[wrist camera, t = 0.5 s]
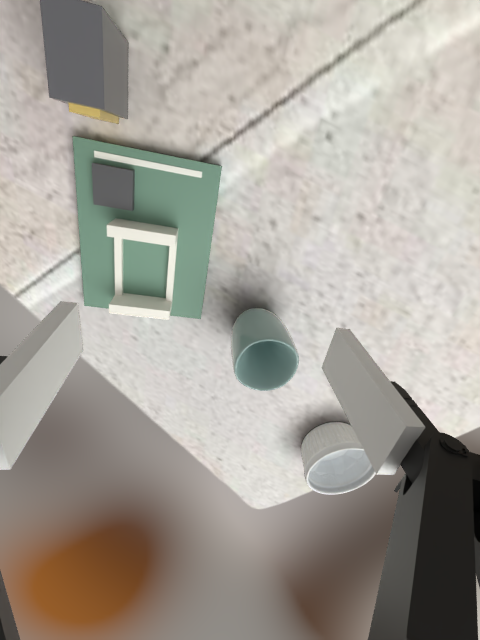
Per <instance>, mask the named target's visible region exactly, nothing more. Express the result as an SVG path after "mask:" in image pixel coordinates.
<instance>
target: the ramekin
mask: <svg viewBox="0 0 480 640" xmlns="http://www.w3.org/2000/svg"><path fill="white" fill-rule="evenodd" d="M301 454H302V460H303V465H304V476H305V479H306V482H307V484H308V486H309V487H310V488H311V489H312V490H314V491H316V492H319V493H322V494H341V493H345V492H349V491H352V490H355V489H357V488H359V487H361V486H362V485H364V484H366V483H367V482H368V481H369V480H371V479H372V477H374V475H375V474H376V472H375V471H374V469H373V467H372V465H371V463H370V461H369V459H368V457H367V455H366V453H365V451H364V449H363V447H362V445H361V443H360V441H359V439H358V437H357V436H356V434H355V432H354V430H353V428H352V426H351V425H349V424H346V423H342V422H330V423H325V424H322V425H320V426H318V427H316V428H314V429H313V430H311V431H310V432H309V433H308V434H307V435H306V437H305V438H304V440H303V443H302V446H301Z"/></svg>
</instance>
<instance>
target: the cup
mask: <svg viewBox="0 0 480 640" xmlns="http://www.w3.org/2000/svg"><path fill="white" fill-rule="evenodd" d="M231 353H232V362H233V369H234V373H235V376H236V378H237V379H238V380H239V382H240V383H242V384H243V385H244V386H246V387H249V388H251V389H254V390H260V391H268V390H274V389H277V388H279V387H281V386H283V385H285V384H286V383H287V382H288V381H289V380H290V379H291V378H292V377H293V375H294V374H295V372H296V370H297V368H298V364H299V356H298V352H297V349H296V347H295V344H294V342H293V340H292V338H291V336H290V334H289V332H288V330H287V328H286V327H285V325H284V323H283V322H282V320H281V319H280V318H279V317H278V316H277V315H276V314H274V313H272V312H271V311H269V310H266V309H262V308H251V309H248V310H246V311H244V312H243V313H242V314H240V315H239V317H238V318H237V319H236V321H235V323H234V325H233V328H232V333H231Z"/></svg>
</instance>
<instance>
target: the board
mask: <svg viewBox="0 0 480 640" xmlns="http://www.w3.org/2000/svg"><path fill="white" fill-rule="evenodd" d="M73 150H74V164H75V178H76V193H77V207H78V221H79V235H80V250H81V264H82V278H83V292H84V306H91V307H100V308H109V313H111V314H120V315H129V316H138V317H147V318H156V319H165V320H169V317H170V316H179V317H188V318H197V319H201V313H202V306H203V299H204V292H205V284H206V277H207V270H208V263H209V255H210V248H211V241H212V234H213V227H214V219H215V212H216V205H217V198H218V190H219V183H220V176H221V169H222V166H219V165H214V164H209V163H204V162H199V161H194V160H189V159H185V158H180V157H175V156H170V155H165V154H160V153H155V152H150V151H145V150H140V149H135V148H130V147H125V146H121V145H116V144H111V143H106V142H101V141H96V140H91V139H86V138H81V137H76V136H73Z"/></svg>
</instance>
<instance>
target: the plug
mask: <svg viewBox="0 0 480 640" xmlns="http://www.w3.org/2000/svg"><path fill="white" fill-rule="evenodd" d="M40 5H41V16H42V26H43V36H44V47H45V57H46V67H47V78H48V88H49V97H50V98H53V99H56V100H58V101H61V102H64V103H67V104H69V112H73V113H76V114H80V115H83V116H87V117H90V118H94V119H98V120H103V121H108V122H112V123H117V124H119V117H121V118H125V119H128V41H127V40H126V39H125V37H124V36H123V35H122V33H121V32H120V30H119V29H118V28H117V26H116V25H115V24H114V22H113V21H112V19H111V18H110V17H109V15H108V14H107V12H106V11H105V10H104V8H103V7H102V6H99V5H96V4H92V3H88V2H85V1H81V0H40Z"/></svg>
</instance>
